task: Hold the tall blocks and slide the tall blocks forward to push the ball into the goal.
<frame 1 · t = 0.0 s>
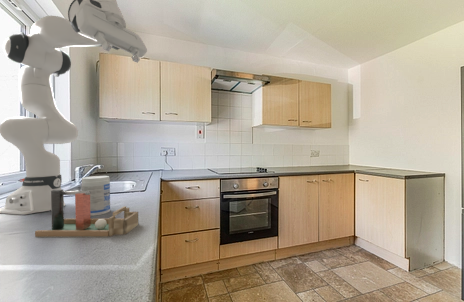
hand: (123, 55, 65), 54 cm above the counter, tool tilted 30°, fingers open, 8 cm apart
supplement tub: (96, 214, 85), on the counter
ball: (100, 229, 66), point 1 cm above the counter, touching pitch
tall blocks: (71, 209, 66), point 7 cm above the counter, slide at 0.0 cm
goal: (120, 231, 66), on the counter
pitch: (85, 231, 67), on the counter
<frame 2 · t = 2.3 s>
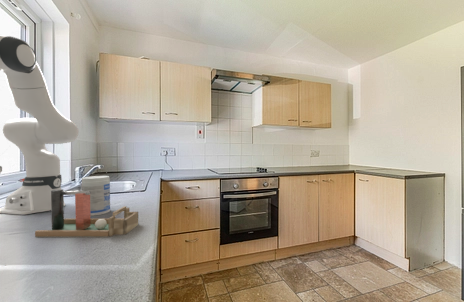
hand: (1, 169, 58), 20 cm above the counter, tool horizontal, fingers open, 8 cm apart
nothing on the counter moved.
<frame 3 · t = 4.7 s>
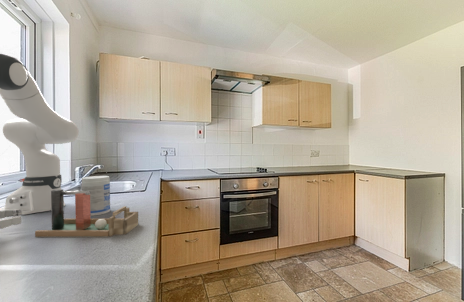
hand: (21, 215, 61), 7 cm above the counter, tool horizontal, fingers open, 8 cm apart
nothing on the counter moved.
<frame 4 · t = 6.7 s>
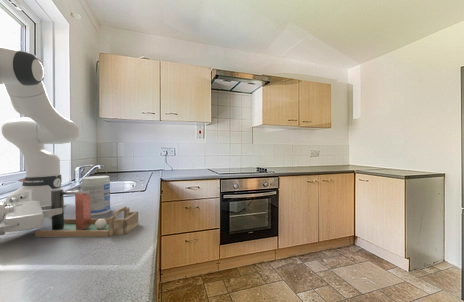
hand: (61, 208, 67), 7 cm above the counter, tool horizontal, fingers closed on tall blocks, 3 cm apart
tall blocks: (71, 209, 66), point 7 cm above the counter, slide at 0.0 cm, touching gripper
everything else where it was.
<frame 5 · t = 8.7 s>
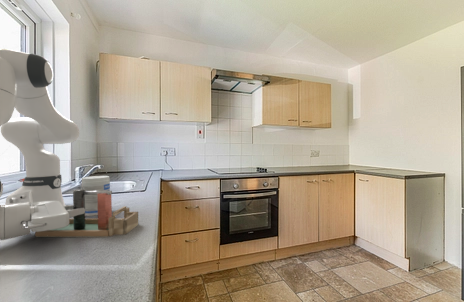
hand: (82, 208, 67), 7 cm above the counter, tool horizontal, fingers closed on tall blocks, 3 cm apart
ball: (120, 219, 66), point 4 cm above the counter, tilted 161°, touching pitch
tall blocks: (92, 209, 66), point 7 cm above the counter, slide at 6.8 cm, touching gripper
everything else where it was.
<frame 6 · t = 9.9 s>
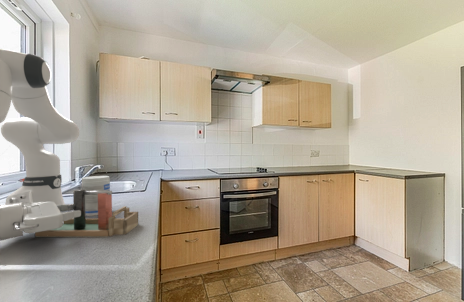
hand: (77, 209, 66), 7 cm above the counter, tool horizontal, fingers open, 8 cm apart
ball: (128, 226, 66), point 2 cm above the counter, tilted 88°
tall blocks: (93, 209, 66), point 7 cm above the counter, slide at 6.9 cm
everything else where it was.
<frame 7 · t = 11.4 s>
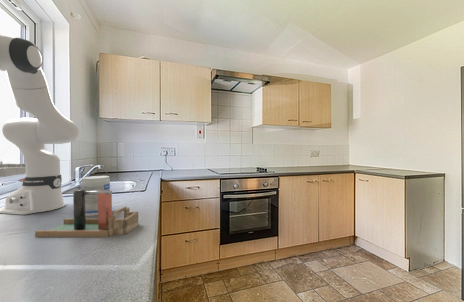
hand: (25, 168, 58), 21 cm above the counter, tool horizontal, fingers open, 8 cm apart
nothing on the counter moved.
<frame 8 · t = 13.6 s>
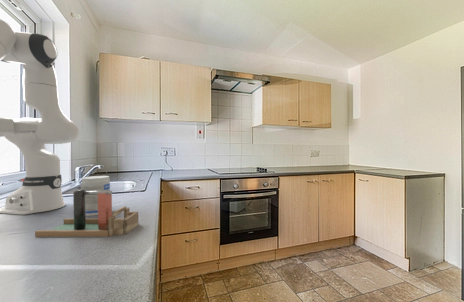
hand: (36, 129, 65), 32 cm above the counter, tool horizontal, fingers open, 8 cm apart
nothing on the counter moved.
at the end: ball 1.2 cm from the target spot, point 1.4 cm above the counter; tall blocks slide at 6.9 cm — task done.
